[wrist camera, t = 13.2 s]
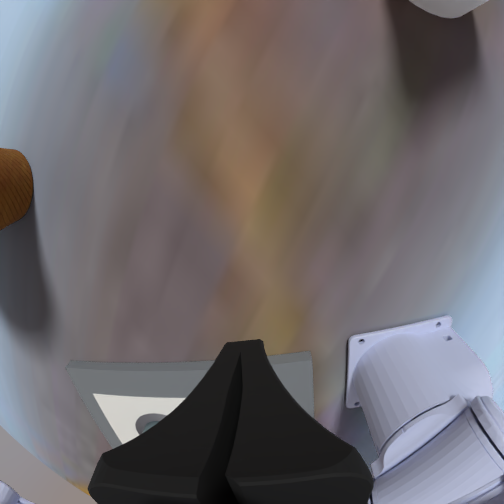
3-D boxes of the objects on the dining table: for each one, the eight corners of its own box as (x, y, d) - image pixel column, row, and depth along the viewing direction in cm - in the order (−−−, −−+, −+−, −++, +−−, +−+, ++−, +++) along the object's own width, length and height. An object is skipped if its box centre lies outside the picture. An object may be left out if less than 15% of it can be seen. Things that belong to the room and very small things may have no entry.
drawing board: (310, 350, 23) (316, 378, 20) (313, 469, 28) (316, 492, 25) (71, 360, 24) (54, 381, 21) (134, 468, 29) (128, 488, 26)
